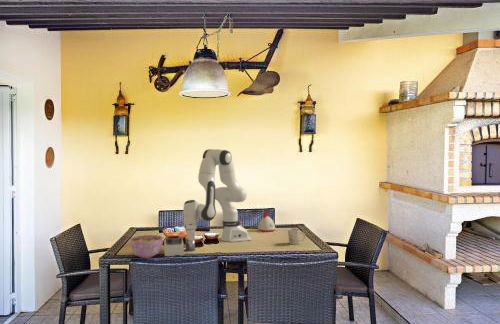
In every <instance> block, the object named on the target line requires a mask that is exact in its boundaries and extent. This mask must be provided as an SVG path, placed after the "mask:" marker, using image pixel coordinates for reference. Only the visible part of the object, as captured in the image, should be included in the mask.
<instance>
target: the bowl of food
mask: <svg viewBox="0 0 500 324" xmlns="http://www.w3.org/2000/svg"><path fill="white" fill-rule="evenodd" d="M162 243H163V236H162V235H157V234H156V235H154V234H150V235H149V234H145V235H144V234H143V235H137V236H134V237H132V238H130V246H131V248H132V252H133V254H134V255H135V256H136V257H139V258H141V259H151V258H154V256H156V255H158V254H159V253H160V251H161V247H162Z"/></svg>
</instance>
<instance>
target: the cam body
mask: <svg viewBox="0 0 500 324" xmlns="http://www.w3.org/2000/svg"><path fill="white" fill-rule="evenodd" d="M163 247H164V248H163V249H164V250H163V251H164V257H176V256H175V255H180V256H184V255H185V252H184V250H185V249H184V248H185V243H184V240H183V236H182V235H168V236H166V237H165V238H164V246H163Z"/></svg>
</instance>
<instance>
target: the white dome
mask: <svg viewBox="0 0 500 324" xmlns="http://www.w3.org/2000/svg"><path fill="white" fill-rule="evenodd" d="M257 230H258V232H261V233H273V232H275V231H276V226H275V222H274V220H273V219H272V217H270V214H269V213H268V211H266V212H264V214H263V217H262V218H261V220H260V221H259V222H258V228H257Z"/></svg>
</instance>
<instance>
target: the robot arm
mask: <svg viewBox="0 0 500 324" xmlns="http://www.w3.org/2000/svg"><path fill="white" fill-rule="evenodd" d="M216 166H218V172H219V173H218V174H219V180H220V182H221V183H222V184H223V185H225V186H219V187H216V183H215V179H216V178H215V176H216ZM197 177H198V178H197V179H198V183H199V185H200V186H201V187H202V188H204V191H205V204H204V203H200V202H198V201H196V200H195V199H188V200H186V201H185V202H184V204H183V208H182V209H183V213H182V214H183V228H184V229H185V231H186V236H188V241H189V246H190V247H192V241H194V236H195V235H196V233H195V232H196V229H197V227H198V219H201V220H204V221H207V222H210V221H212V220H214V219H215V217H216V214H217V209H216V201H217V202H218V204H219V205H220V207H221V210H222V222H221V225H222V231H221V232H222V233H221V238H220V240H221V241H224V242H231V243H236V242H245V241H246V242H247V241H251V240H252V237H251V236H250V235H249V233H248V230H247V229H246V228H244V227H243V226H242V224H243V222H242V221H241V220H239V219H238V218H239V215H238V213H239V212H238V209H237V208H236V207H235V206H234V205H233V203H242V202H244V201H246V199H247V197H248V195H247V190H246V189H245V188H243V187H242V186H241V185H240V184H239V182H238V180H237V178H236V172H235V165H234V161H233V158H232V154H231V152H230V151H229V150H227V149H219V148H216V149H215V148H213V149H212V148H211V149H206V150H204V152H203V154H202V160H201V161H200V164H199V170H198V176H197Z"/></svg>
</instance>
